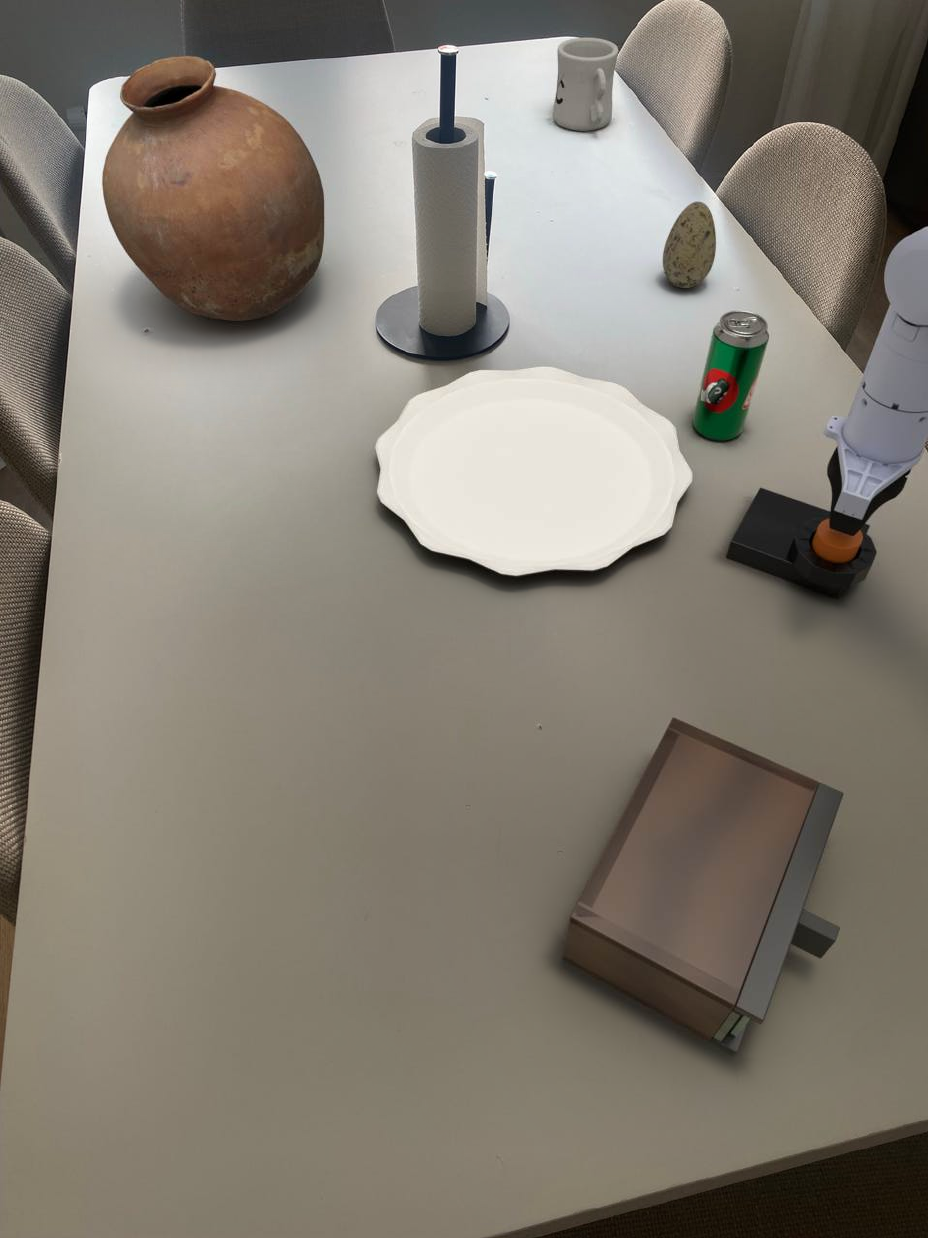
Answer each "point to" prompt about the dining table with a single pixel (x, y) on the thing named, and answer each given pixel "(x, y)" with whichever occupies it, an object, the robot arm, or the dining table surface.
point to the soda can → (730, 374)
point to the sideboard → (703, 883)
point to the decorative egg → (690, 246)
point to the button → (835, 544)
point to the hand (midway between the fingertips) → (843, 527)
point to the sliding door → (805, 946)
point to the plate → (532, 471)
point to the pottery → (212, 193)
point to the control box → (795, 545)
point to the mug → (585, 83)
